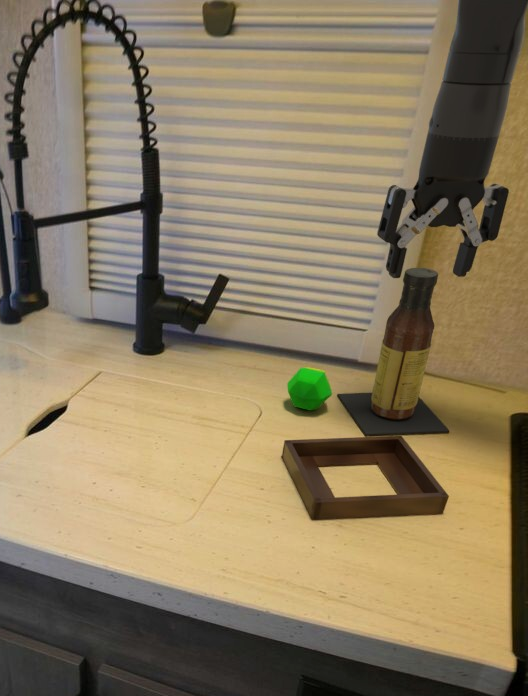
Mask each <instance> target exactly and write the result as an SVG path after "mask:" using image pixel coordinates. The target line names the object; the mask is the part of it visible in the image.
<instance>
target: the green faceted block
mask: <svg viewBox="0 0 528 696" xmlns="http://www.w3.org/2000/svg"><path fill="white" fill-rule="evenodd" d="M286 384H287V385H286V386H287V392H288V395H289V398H290V400H291V402H292V405H293V407H295V408H299V409H303V410H308V411H314V410H318V409H319V408H320V407H321V406H322V405H323V404H324V403H325V402H326V401H327V400H328V399H329V398H330V397H332V395H333V391H332V386H331V384H330V381H329V378H328V375H327V374H326V371H325V370H323V369H318V368H314V367H310V366H306V367H304V366H303V367H300V368H299V369H298V370H297V372H296V373H295V374H294V375H293V376H292V377H291V378H290V380H288V381H287V383H286Z"/></svg>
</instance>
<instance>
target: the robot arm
mask: <svg viewBox="0 0 528 696" xmlns="http://www.w3.org/2000/svg"><path fill="white" fill-rule="evenodd" d="M527 10H528V0H458V3H457V13H456V21H455V22H456V23H455V26H454V30H453V31H454V32H453V34H452V38H451V41H450V46H449V50H448V53H447V58H446V62H445V66H444V70H443V75H442V81H441V83H440V87H439V90H438V93H437V95H436V98H435V101H434V104H433V108H432V113H431V115H430V118H429V122H428V130H427V134H426V139H425V142H424V148H423V151H422V156H421V159H420V165H419V169H418V178H417V181H416V183H415V184H414V186H413V187H412V188H411V187H409V188H408V187H400V186H399V185H397V184H392V185H391V186H390V187H388V190H387V194H386V197H385V202H384V206H383V210H382V214H381V217H380V221H379V224H378V229H377V233H376V235H377V237H378V238H380V239H381V240H383V241H384V242H385V243H387V244H389V250H388V253H387V259H386V264H385V269H386V271H387V272H388V275H389V276H390V277H391V278H393V279H400V278H401V277H402V273H403V268H404V265H405V264H404V263H405V259H406V256H407V251H408V248H407V247H406V246H408V244H409V243H410V242H411V241H412V240H413V239H414V238H415V237H416V236H417V235H419V234H421V233H422V232H423V231H424V230H425V229H426V228H427V227H429V228H439V227H442V226H445V227H449V228H456V227H457V228H458V230H459V233H460V234H461V236H462V239H463V242H459V246H458V250H457V253H456V257H455V261H454V264H453V268H452V273H453V275H455V276H457V277H458V278H463V277H466V275H467V273H470V271H471V270H472V268H473V264H474V261H475V257H476V255H477V252H478V248H479V246H480V245H481V244H483V243H485V242H488V241H490V242H492V241H493V242H494V241H495V240H496V239H497V238H498V236H499V233H500V229H501V224H502V220H503V217H504V213H505V208H506V205H507V201H508V197H509V194H510V191H509V188H508V187H505V186H504V185H501V184H497V183H492V184H490V186H485V180H486V179H487V176H488V175H489V173H490V169H491V166H492V162H493V159H494V155H495V151H496V148H497V144H498V140H499V138H500V134H501V130H502V127H503V124H504V119H505V116H506V113H507V109H508V104H509V97H510V91H511V86H512V82H513V79H514V75H515V72H516V69H517V64H518V61H519V59H520V53H521V51H522V46H523V43H524V38H525V33H526V32H525V31H526V13H527ZM409 201H411V202H412V205H413V206H414V207H412V209H411V210H410V211H408V213H407V214H406V215H405V217H404V218H403V219H402V221H401V224H400V225H399V222H400V219H401V216H402V215H401V214H402V212H403V209H404V208H406V207H407V205H408V203H409ZM480 202H482V204H483V205H484V207H483V211H482V214H481V218H480V219H481V220H480V224H479V223H478V221H477V219H476V216H475V213H474V209H475V208H476V207H477V206H478V205H479V203H480Z"/></svg>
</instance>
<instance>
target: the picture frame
mask: <svg viewBox="0 0 528 696" xmlns="http://www.w3.org/2000/svg"><path fill="white" fill-rule="evenodd" d="M281 457H282V460H283V462H284V463H285V464H284V465H285V466H286V468H287V470H288V472H289V474H290V476H291V478H292V480H293V483H294V485H295V487H296V489H297V491H298V493H299V495H300V497H301V499H302V501H303V504H304V505H305V508H306V510H307V512H308V513H309V516H310V518H311V520H312V521H315V520H330V519H331V520H335V519H352V518H353V519H354V518H355V519H356V518H357V519H358V518H375V517H376V518H377V517H398V516H414V515H415V516H416V515H437V514H444V511H445V509H446V506H447V503H448V500H449V498H450V495H449V494H448V492H446V490H445V489H444V487H443V486H442V485H441V484H440V483H439V481H438V480H437V479H436V478H435V476H434V475H433V474H432V472H431V471H430V470H429V468H428V467H427V466H426V465H425V464H424V462H423V461H422V460H421V458H419V455H417V454H416V452H415V451H414V450H413V448H412V447H411V446H410V445H409V443H408V442H407V441H406V439H405V437H403V435H384V436H359V437H357V436H356V437H355V436H354V437H334V438H308V439H307V438H306V439H287V440H286V439H285V440H284V441H283V447H282V453H281ZM368 465H369V466H371V465H377V467H378V468H379V469H380V471H381V473H383V475H384V476H385V478H386V480H387V481H388V482H389V484H390V486H391V487H392V488H393V490H394V491H395V493H396V494H380V495H360V496H359V495H358V496H337V497H335V495H334V493H333V491H332V489H331V487H330V486H329V484H328V482H327V480H326V478H325V477H324V475H323V473H322V471H321V470H320V468H319V467H321V468H322V467H323V468H324V467H345V466H368Z"/></svg>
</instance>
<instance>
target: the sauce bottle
mask: <svg viewBox="0 0 528 696" xmlns="http://www.w3.org/2000/svg"><path fill="white" fill-rule="evenodd" d="M438 277H439V273H438V272H437V271H436V270H434V269H431V268H427V267H411V268H410V267H409V268H407V269H406V270H405V271H404V274H403V278H402V282H403V286H402V291H401V297H400V299H399V302H398V305H397V307H396V308H395V309H394V310H393V311H392V312H391V314H390V315H389V316H388V317H387V320H386V324H385V330H384V335H383V339H382V341H381V347H380V352H379V358H378V362H377V367H376V372H375V376H374V377H375V378H374V383H373V388H372V392H371V393H372V397H371V400H372V401H371V407H372V410H373V412H374V413H375V414H376V415H379V416H382V417H385V418H387V419H392V420H403V419H407V418H409V417H411V416H412V415H413V413H414V411H415V406H416V404H417V402H418V397H420V393H421V390H422V389H421V388H422V384H423V380H424V376H425V371H426V369H427V368H426V367H427V363H428V359H429V355H430V350H431V346H432V337H433V334H434V330H435V322H434V319H433V315H432V310H431V305H432V297H433V293H434V289H435V286H436V285H437V283H438Z"/></svg>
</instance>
